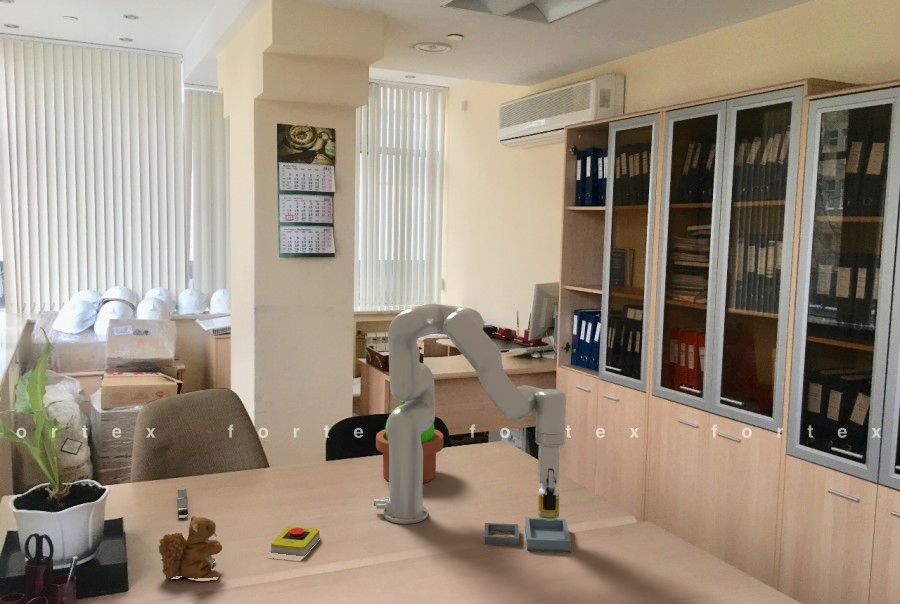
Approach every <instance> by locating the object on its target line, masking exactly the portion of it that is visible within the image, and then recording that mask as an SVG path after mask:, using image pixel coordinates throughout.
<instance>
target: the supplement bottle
mask: <svg viewBox="0 0 900 604" xmlns="http://www.w3.org/2000/svg"><path fill="white" fill-rule="evenodd" d="M546 483H548V480H546ZM555 484H556V483H555ZM540 485H541V486H540V488H539V489H538V501H537V502H538V505H537V513H538V514H537V516H538V518H540V519H542V520H546V521H553V520H557V519H560V518H559V516H560V491H559V489H558V488H557V484H556V485H555V494H556V509H555V510H544V509H543V494H544V489H545V484H544V483H542V484H540ZM547 487H548V485H547Z"/></svg>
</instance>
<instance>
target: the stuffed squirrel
mask: <svg viewBox="0 0 900 604" xmlns="http://www.w3.org/2000/svg"><path fill="white" fill-rule="evenodd" d="M216 527H217V525H216V522H215V521H213V520H211V519H210V518H207V517H202V516H199V517H197V516H194V515H193V516H191V517H190V523H189V527H188V535H187V538H186V539H185V537H184V535H183V532H176V533H171V534H170V533H167V534H164V535H162V536H163V537H162V538H161V539H159V545H158V552H159V554H160V556H161V557H162V558H161V559H160V560H161V562H162V568H163V569H162V573H163V575H165V578H168V577H169V578H173V577H176V576H182V577H187V578H194V579H198V578H213V577H219V576H221V574H220V573H219V571H217V570H214V569H213V567H214V566H213V565H214V564H213V562H214V561H215V560H216V559H215V558H214V557H213V556H214V555H218V554H220V553H221V551H222V549H223V546H222V544H221V541H220V542H219V540H217V539H209V538H212V537H213V535H214V537H216V538H217V534H216V531H217V529H216ZM211 569H212V570H211ZM169 578H168V579H169ZM219 578H220V577H219Z"/></svg>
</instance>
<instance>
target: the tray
mask: <svg viewBox="0 0 900 604" xmlns="http://www.w3.org/2000/svg"><path fill="white" fill-rule="evenodd" d="M524 519H525V520H524V530H525V542H526V551H528V552H545V553H546V552H548V553H549V552H550V553H553V552H554V553H572V539H571V534H570V530H569V527H568V522H567V518H558V519H557V520H553V521H546V520H542V519H540V518H539V517H525V518H524Z"/></svg>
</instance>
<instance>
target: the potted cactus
mask: <svg viewBox="0 0 900 604" xmlns="http://www.w3.org/2000/svg"><path fill="white" fill-rule="evenodd" d="M404 404H405V402H402V401H400V404H399V405H397V406H396V408H394V409H393V410H392V412H393V411H394V410H395V409H397V408H399V407H400V406H402V405H404ZM388 415H389V416H390V415H391V413H389V414H388ZM389 416H388V417H389ZM387 421H388V419H387V420H386V422H385V426H384V429H382V430H380V431H379V432H377V433H376V436H375V448H376V450H377V451H378V452H380V453H382V475H383V478H384V479H385V480H386V481H388V482H389V441H388V435H387ZM421 443H422V448H423V484H425V483H428V482H431V480H433V479H434V478H435V477H436V474H437V473H436V472H437V471H436V469H437V467H436V466H437V464H436V463H437V453H439V452H440V451H443V447H444V434H443V432H441V431H439V430H438V429H436V428H435V424H434V423H433V424H432V426H431V427H430V428H429V429H427V430H426V431H424V432H423V433H422V434H421Z"/></svg>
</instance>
